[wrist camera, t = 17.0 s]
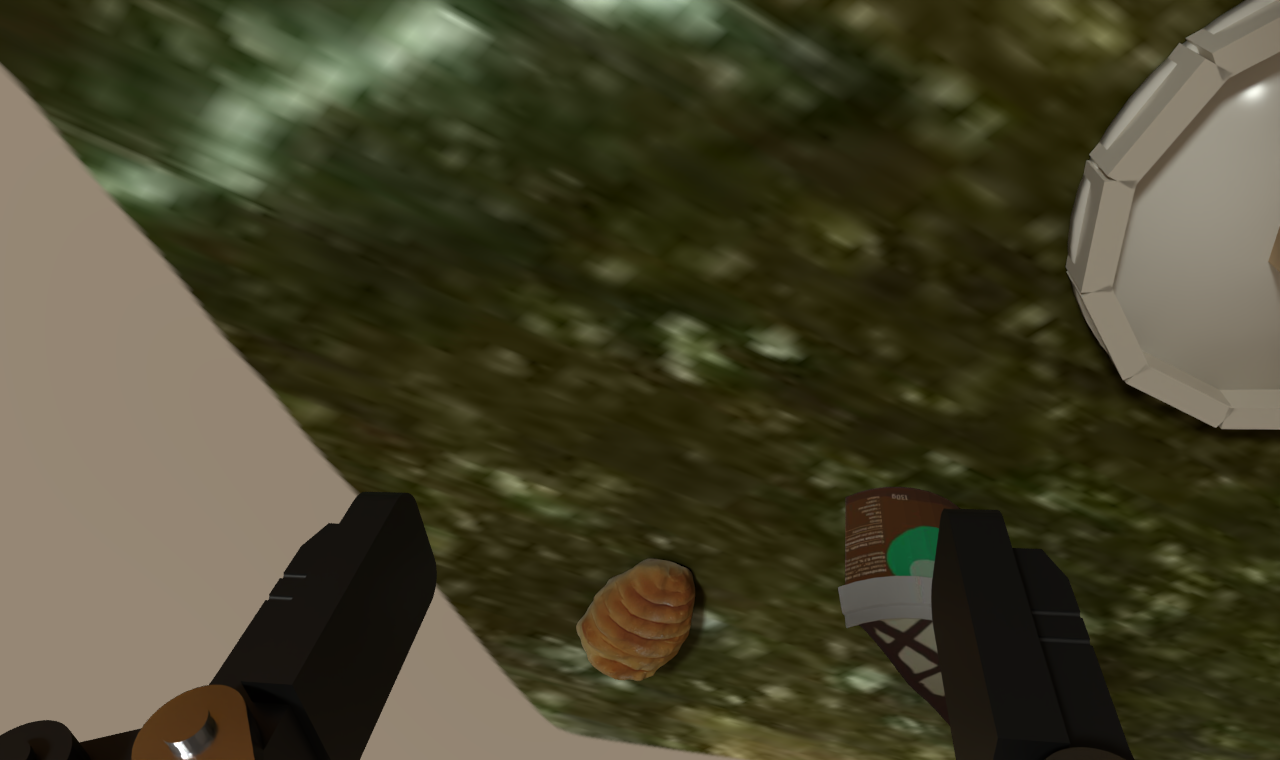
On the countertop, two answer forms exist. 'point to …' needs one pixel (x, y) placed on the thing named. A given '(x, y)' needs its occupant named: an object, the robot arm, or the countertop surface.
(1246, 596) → the countertop surface
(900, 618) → the food container
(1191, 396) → the round dish
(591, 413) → the countertop surface
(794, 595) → the countertop surface
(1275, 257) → the oak block
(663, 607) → the pastry
